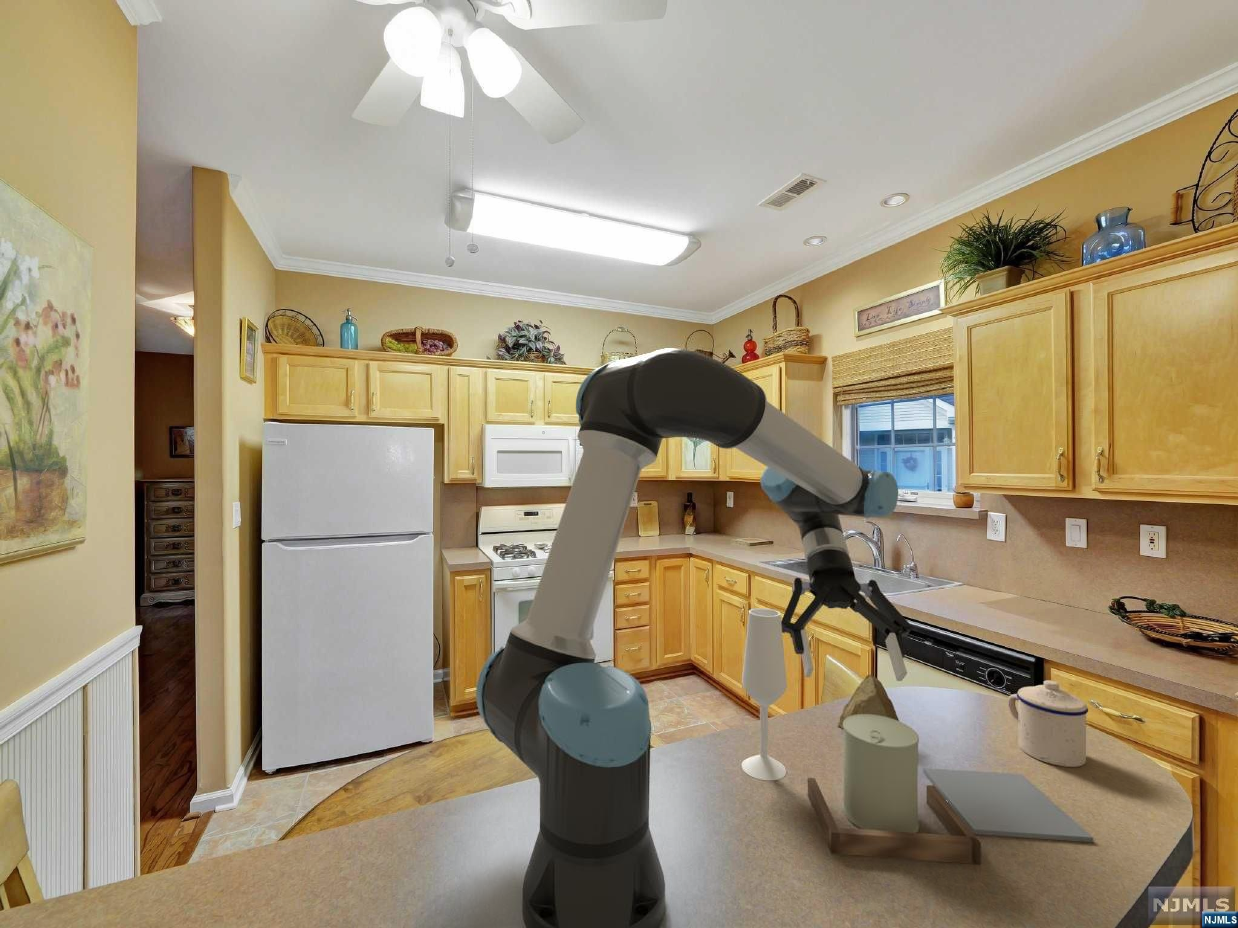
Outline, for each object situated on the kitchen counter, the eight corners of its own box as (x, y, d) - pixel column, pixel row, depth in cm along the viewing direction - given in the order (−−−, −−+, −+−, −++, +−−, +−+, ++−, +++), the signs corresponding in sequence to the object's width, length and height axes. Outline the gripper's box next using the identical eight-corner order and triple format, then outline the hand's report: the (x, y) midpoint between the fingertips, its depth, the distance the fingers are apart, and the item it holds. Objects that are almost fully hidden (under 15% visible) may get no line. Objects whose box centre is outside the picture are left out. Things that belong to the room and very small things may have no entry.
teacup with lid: (1103, 765, 85) (1103, 690, 85) (1056, 772, 83) (1056, 695, 83) (1030, 728, 97) (1030, 663, 97) (987, 734, 95) (988, 667, 95)
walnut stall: (831, 852, 65) (831, 832, 65) (807, 795, 77) (807, 777, 77) (980, 864, 64) (981, 842, 64) (934, 803, 75) (934, 785, 75)
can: (835, 820, 71) (835, 729, 71) (850, 787, 79) (850, 704, 79) (914, 849, 66) (914, 750, 66) (922, 810, 74) (923, 721, 74)
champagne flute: (774, 786, 79) (775, 621, 79) (733, 768, 83) (734, 612, 83) (793, 766, 84) (794, 611, 84) (753, 751, 88) (754, 604, 89)
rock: (925, 743, 87) (900, 707, 97) (893, 702, 87) (872, 670, 96) (866, 777, 89) (848, 738, 99) (835, 736, 88) (820, 701, 98)
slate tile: (973, 833, 69) (973, 829, 69) (923, 771, 83) (923, 767, 83) (1093, 842, 68) (1093, 837, 68) (1021, 777, 81) (1021, 773, 81)
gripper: (894, 573, 99) (932, 688, 84) (754, 569, 102) (768, 681, 87) (906, 548, 94) (950, 667, 79) (759, 545, 96) (774, 660, 81)
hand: (855, 675), depth 83 cm, fingers open, 13 cm apart
